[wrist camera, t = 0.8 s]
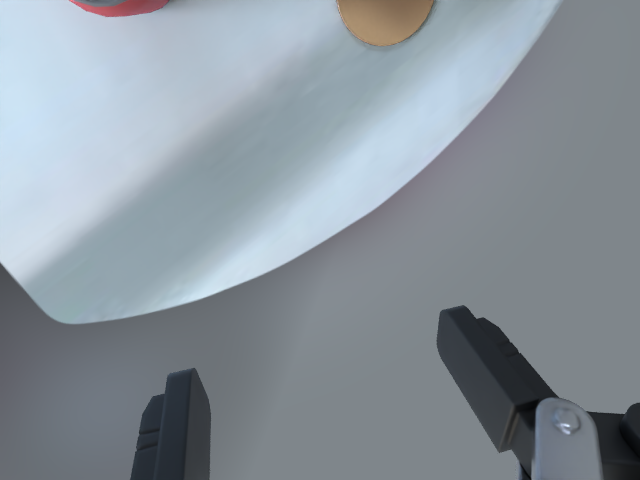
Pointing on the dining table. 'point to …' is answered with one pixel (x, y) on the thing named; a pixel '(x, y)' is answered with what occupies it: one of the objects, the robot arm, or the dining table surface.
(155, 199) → the dining table surface
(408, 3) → the cork coaster
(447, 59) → the dining table surface
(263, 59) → the dining table surface
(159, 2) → the beer can
